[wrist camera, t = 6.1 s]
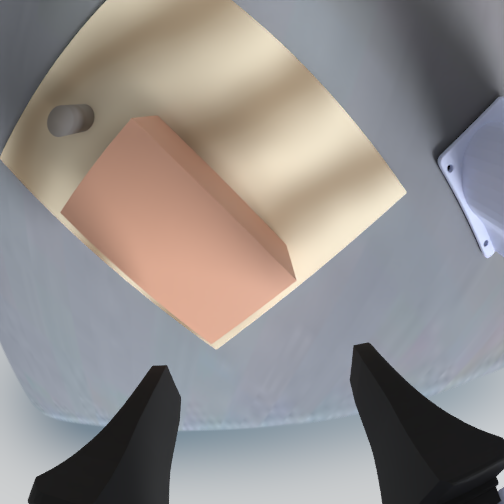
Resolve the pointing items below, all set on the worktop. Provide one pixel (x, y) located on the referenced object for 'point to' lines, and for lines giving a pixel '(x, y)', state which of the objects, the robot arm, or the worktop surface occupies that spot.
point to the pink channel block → (179, 230)
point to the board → (207, 124)
